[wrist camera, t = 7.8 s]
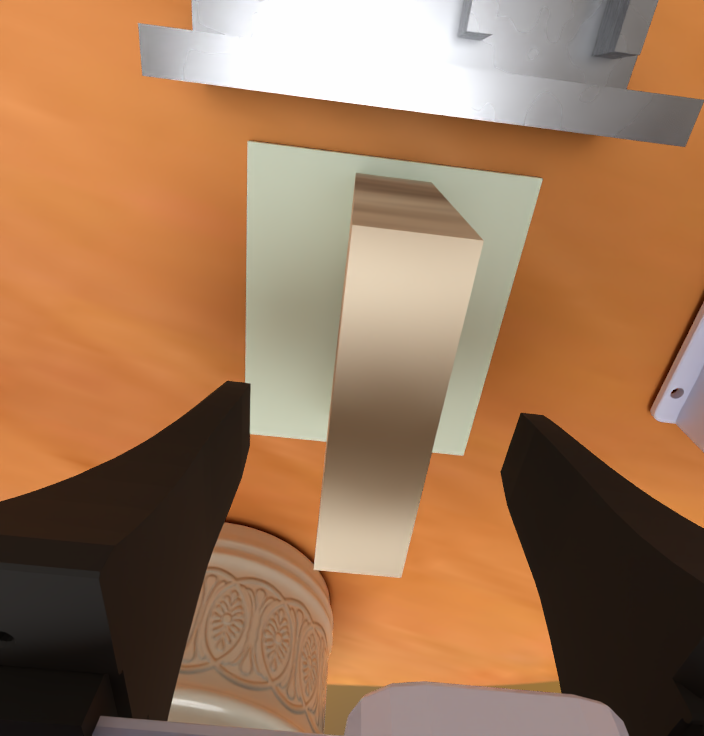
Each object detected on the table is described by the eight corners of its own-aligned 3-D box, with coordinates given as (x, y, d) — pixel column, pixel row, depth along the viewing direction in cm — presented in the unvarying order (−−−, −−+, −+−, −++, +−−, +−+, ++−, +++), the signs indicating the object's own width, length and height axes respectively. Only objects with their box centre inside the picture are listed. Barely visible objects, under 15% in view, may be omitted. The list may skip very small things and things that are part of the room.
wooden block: (387, 421, 21) (401, 578, 14) (328, 415, 21) (313, 569, 14) (431, 182, 16) (483, 240, 9) (356, 172, 16) (352, 224, 9)
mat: (461, 450, 22) (463, 455, 22) (246, 428, 22) (244, 433, 22) (539, 177, 17) (542, 178, 16) (249, 140, 16) (247, 141, 16)
